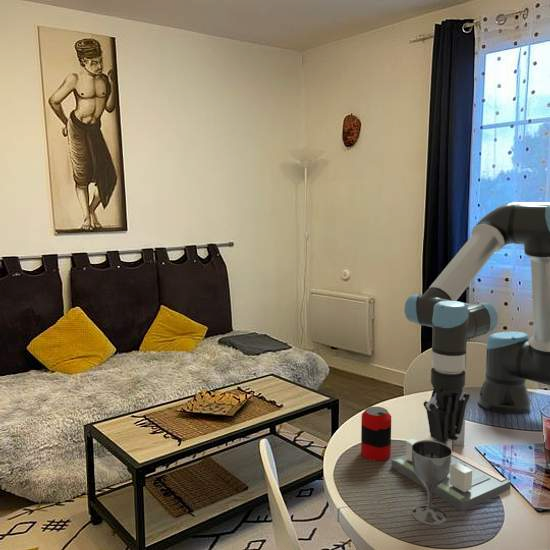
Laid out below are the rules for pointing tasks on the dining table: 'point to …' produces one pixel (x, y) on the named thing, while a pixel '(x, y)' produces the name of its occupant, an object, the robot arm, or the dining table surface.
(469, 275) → the robot arm
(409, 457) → the handle
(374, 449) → the soda can
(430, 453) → the wine glass
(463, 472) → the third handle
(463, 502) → the board
